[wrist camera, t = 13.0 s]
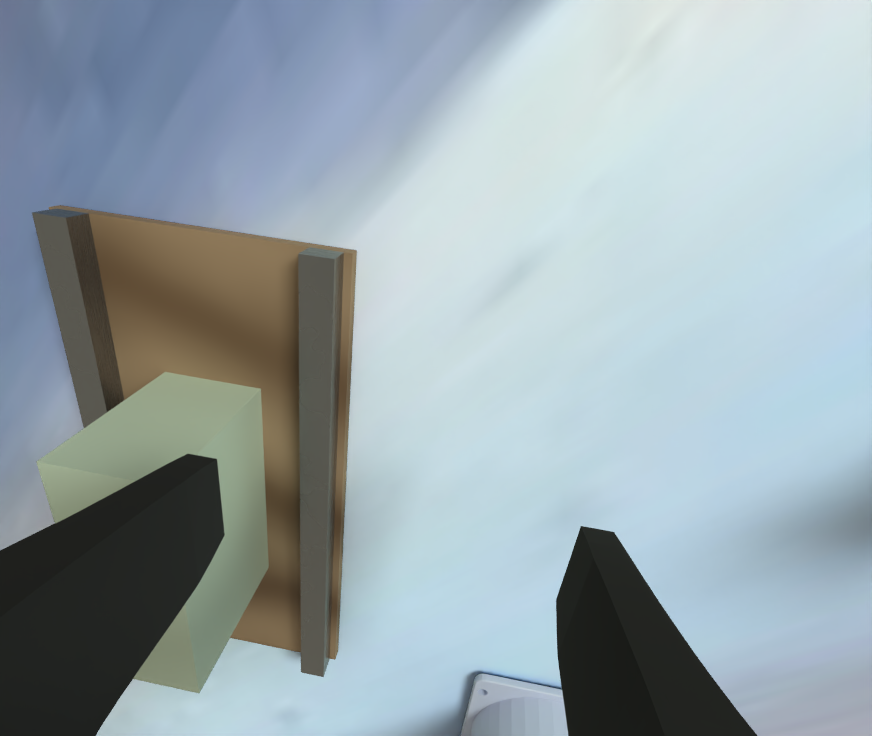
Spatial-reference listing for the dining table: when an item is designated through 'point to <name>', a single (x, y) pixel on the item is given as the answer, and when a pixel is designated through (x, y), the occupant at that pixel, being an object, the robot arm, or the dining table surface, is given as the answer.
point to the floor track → (227, 375)
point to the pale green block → (150, 450)
